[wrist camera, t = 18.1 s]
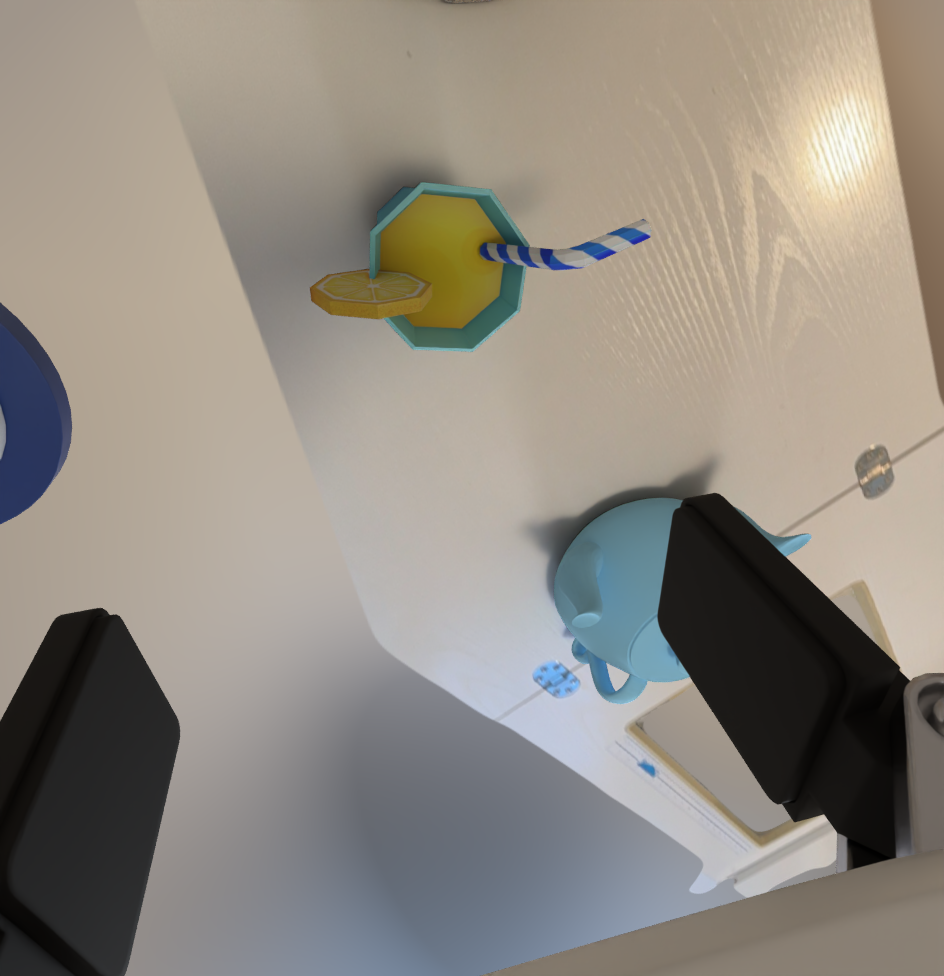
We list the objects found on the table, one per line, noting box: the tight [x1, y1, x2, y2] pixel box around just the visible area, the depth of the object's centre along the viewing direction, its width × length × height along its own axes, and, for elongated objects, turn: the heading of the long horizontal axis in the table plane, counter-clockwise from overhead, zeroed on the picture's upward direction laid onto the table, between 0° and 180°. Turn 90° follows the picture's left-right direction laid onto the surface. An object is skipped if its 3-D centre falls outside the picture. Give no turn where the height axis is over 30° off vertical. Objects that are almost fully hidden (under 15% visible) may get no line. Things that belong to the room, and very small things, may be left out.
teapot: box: [554, 498, 811, 704], centre depth 49 cm, size 17×19×12 cm
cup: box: [310, 182, 651, 352], centre depth 29 cm, size 14×8×15 cm, turn 106°
